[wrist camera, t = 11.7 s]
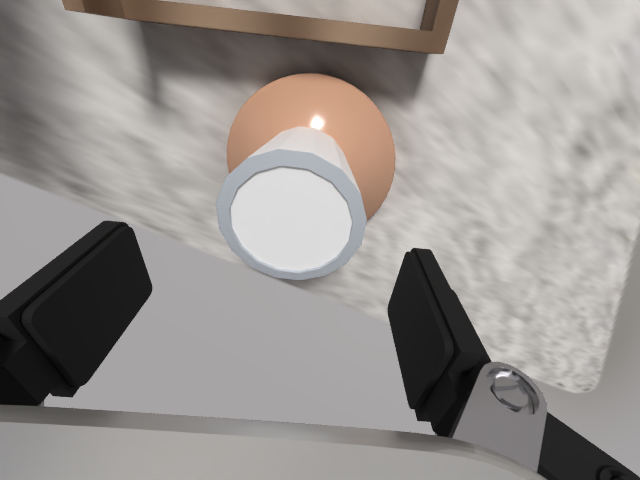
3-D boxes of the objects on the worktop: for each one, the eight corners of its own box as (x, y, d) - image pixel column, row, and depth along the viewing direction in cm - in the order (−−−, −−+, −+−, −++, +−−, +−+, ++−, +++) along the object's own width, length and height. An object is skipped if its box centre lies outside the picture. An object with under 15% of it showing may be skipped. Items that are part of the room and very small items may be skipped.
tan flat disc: (237, 224, 22) (233, 231, 22) (223, 62, 16) (217, 63, 15) (374, 239, 22) (376, 246, 22) (412, 83, 16) (416, 85, 15)
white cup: (264, 219, 21) (236, 284, 15) (241, 120, 17) (192, 156, 11) (357, 213, 20) (366, 279, 14) (355, 110, 16) (367, 142, 11)
